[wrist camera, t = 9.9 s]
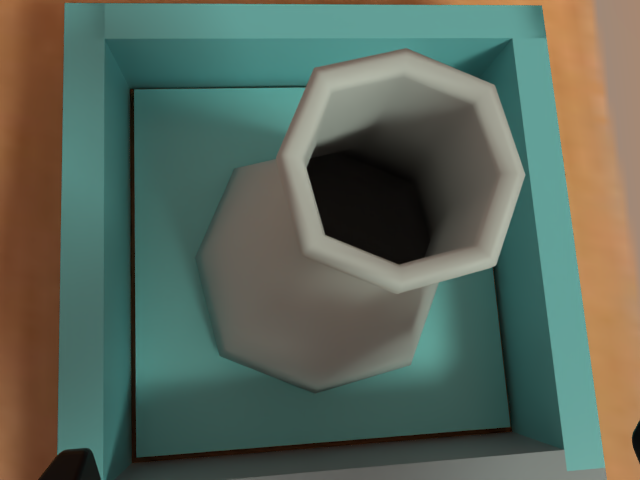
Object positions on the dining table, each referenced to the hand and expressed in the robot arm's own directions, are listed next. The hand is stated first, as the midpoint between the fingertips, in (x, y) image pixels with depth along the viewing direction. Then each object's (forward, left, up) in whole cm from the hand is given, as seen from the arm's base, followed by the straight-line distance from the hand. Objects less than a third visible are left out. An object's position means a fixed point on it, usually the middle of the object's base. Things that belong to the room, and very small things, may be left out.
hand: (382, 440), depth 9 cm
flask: (+3, +2, -7) cm, 8 cm away
